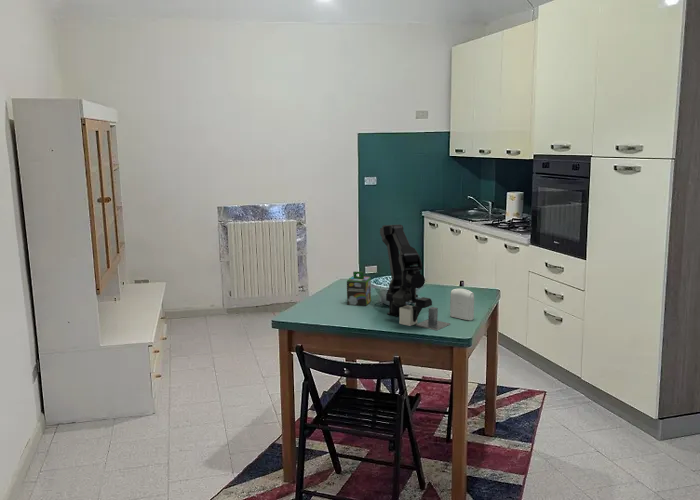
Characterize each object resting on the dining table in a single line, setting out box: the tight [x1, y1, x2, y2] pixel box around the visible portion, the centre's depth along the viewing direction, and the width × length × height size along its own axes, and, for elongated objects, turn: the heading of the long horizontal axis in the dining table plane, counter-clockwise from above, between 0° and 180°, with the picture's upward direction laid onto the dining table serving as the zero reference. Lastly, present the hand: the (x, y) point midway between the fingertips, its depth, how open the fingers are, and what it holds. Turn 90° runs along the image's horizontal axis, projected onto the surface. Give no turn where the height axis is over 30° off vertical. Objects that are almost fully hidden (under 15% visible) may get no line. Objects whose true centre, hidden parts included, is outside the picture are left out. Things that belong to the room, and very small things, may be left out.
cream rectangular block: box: [398, 304, 418, 327], centre depth 256 cm, size 5×5×7 cm
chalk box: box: [346, 271, 372, 307], centre depth 286 cm, size 9×9×15 cm
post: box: [414, 306, 451, 331], centre depth 253 cm, size 10×10×7 cm
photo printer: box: [449, 288, 475, 321], centre depth 262 cm, size 10×4×12 cm, turn 47°
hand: (408, 320), depth 256 cm, fingers open, 6 cm apart
